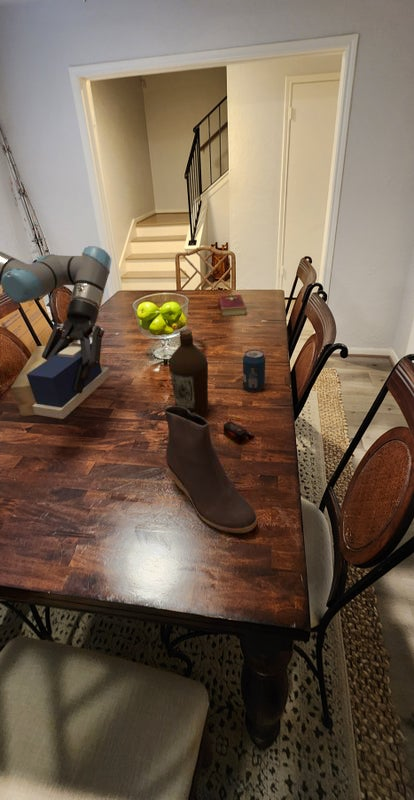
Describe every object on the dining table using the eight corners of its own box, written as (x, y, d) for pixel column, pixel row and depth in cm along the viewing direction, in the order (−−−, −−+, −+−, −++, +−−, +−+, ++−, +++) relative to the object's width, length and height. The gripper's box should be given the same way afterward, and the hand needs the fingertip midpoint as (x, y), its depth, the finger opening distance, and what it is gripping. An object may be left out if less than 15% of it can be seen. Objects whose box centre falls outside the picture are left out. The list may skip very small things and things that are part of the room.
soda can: (258, 380, 123) (258, 347, 117) (268, 389, 118) (269, 355, 111) (239, 384, 121) (239, 351, 115) (248, 394, 116) (249, 360, 109)
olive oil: (186, 398, 115) (179, 322, 102) (216, 406, 111) (213, 327, 98) (167, 416, 108) (157, 335, 94) (199, 425, 103) (192, 342, 90)
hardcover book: (221, 316, 178) (221, 308, 176) (218, 303, 196) (218, 295, 194) (246, 315, 178) (246, 306, 176) (241, 301, 196) (241, 294, 194)
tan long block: (21, 416, 112) (10, 387, 106) (45, 371, 137) (37, 346, 132) (69, 411, 113) (60, 382, 108) (83, 367, 138) (77, 342, 133)
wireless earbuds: (242, 446, 94) (242, 436, 93) (222, 435, 99) (222, 425, 97) (254, 438, 97) (254, 428, 95) (234, 427, 101) (234, 417, 100)
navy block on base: (63, 419, 87) (50, 376, 81) (35, 414, 89) (20, 373, 83) (110, 375, 105) (103, 338, 98) (86, 372, 107) (77, 335, 101)
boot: (237, 550, 69) (236, 469, 58) (157, 486, 84) (145, 413, 73) (266, 522, 74) (270, 443, 63) (186, 467, 89) (178, 395, 78)
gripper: (41, 296, 95) (17, 380, 91) (113, 300, 89) (90, 390, 85) (59, 309, 102) (37, 388, 98) (127, 314, 96) (106, 398, 92)
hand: (62, 389), depth 91 cm, fingers closed on navy block on base, 8 cm apart
